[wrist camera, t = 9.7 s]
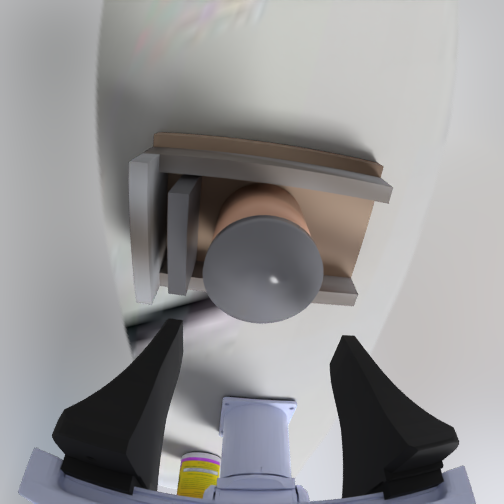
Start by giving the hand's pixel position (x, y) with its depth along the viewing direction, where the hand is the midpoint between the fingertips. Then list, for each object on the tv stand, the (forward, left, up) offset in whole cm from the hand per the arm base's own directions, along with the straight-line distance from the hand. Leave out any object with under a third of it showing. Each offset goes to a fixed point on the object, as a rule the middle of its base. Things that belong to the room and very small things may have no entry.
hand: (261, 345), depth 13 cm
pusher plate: (+2, +5, -8) cm, 9 cm away
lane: (+2, 0, -9) cm, 9 cm away
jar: (+2, 0, -8) cm, 8 cm away
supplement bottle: (-38, +3, -10) cm, 39 cm away
